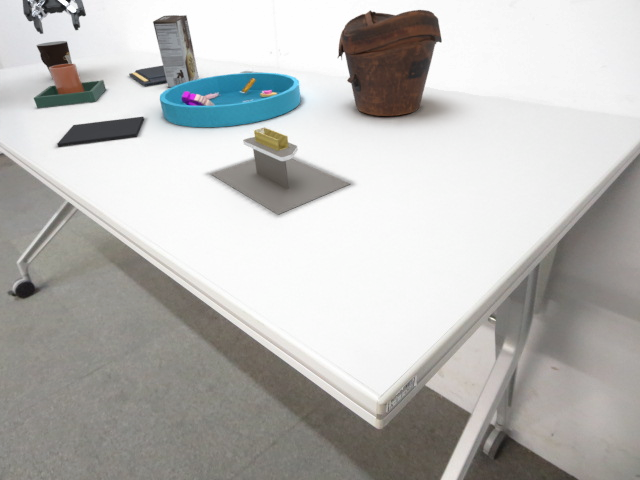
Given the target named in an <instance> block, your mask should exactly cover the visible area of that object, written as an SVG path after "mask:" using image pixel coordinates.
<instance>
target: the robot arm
mask: <svg viewBox="0 0 640 480" xmlns="http://www.w3.org/2000/svg"><path fill="white" fill-rule="evenodd" d="M72 1H73V3H74V4H75V5H76V6H77V8H75V7H74V6H72V5H71V2H72ZM33 8H34V10H33ZM22 9H23V10H22V11H23V15H24V17H25V18H26V20H27V21H28V22H33V26H34V28H35V30H36V32H37V33H39V34H40V35H44V27H43V22H42V20H43V19H44V18H47V16H48V15H49V14H50V15H51V14H62V13H63V12H65V13H66V14H68V15H69V16H70V17H71V23H72V26H73V28H74V31H79V28H81V22H80V17H86V16H87V12H86V9H85V6H84V2H83V0H22Z"/></svg>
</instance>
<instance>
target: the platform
mask: <svg viewBox="0 0 640 480" xmlns="http://www.w3.org/2000/svg"><path fill="white" fill-rule="evenodd" d="M253 132H254V133H253V135H254V136H252V137H248V138H244V139H243V145H244V146H246V147H248V148H251V149H252V151H253V159H250V160H248V161H244V162H242V163H239V164H236V165H233V166H230V167H229V166H228V167H226V168H224V169H220V170H217V171H215V172H211V173H210V175H211V176H213V177H215V178H217V179H218V180H220V181H221V182H223V183H225V184H227V185H228V186H230V187H231V188H233V189H235V190H236V191H238V192H240V193H242V194H243V195H244V196H247V197H248V198H250V199H252V200H253V201H254V202H256V203H258V204H260V205H261V206H263V207H265V208H267V209H268V210H269V211H272V212H273V213H275V214H276V215H280V214H283V213H285V212H288V211H290V210H292V209H295V208H297V207H299V206H302V205H304V204H307V203H309V202H311V201H314V200H316V199H318V198H322V197H323V196H325V195H328V194H330V193H333V192H335V191H338V190H340V189H342V188H344V187H347V186H349V185H351V183H350V182H348V181H345V180H343V179H341V178H338V177H336V176H334V175H332V174H329V173H327V172H325V171H322V170H320V169H318V168H315V167H313V166H311V165H308V164H305V163H304V162H301V161H299V160H297V159H294V156H295V155H296V153H297V152H298V150H299V149H298V145H296V144H293V143H291V142H289V138H288V135H287V134H283V133H281V132H278V131H275V130H274V129H273V130H272V129H271V128H267V127H260V128H256V129H254V130H253Z"/></svg>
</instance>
